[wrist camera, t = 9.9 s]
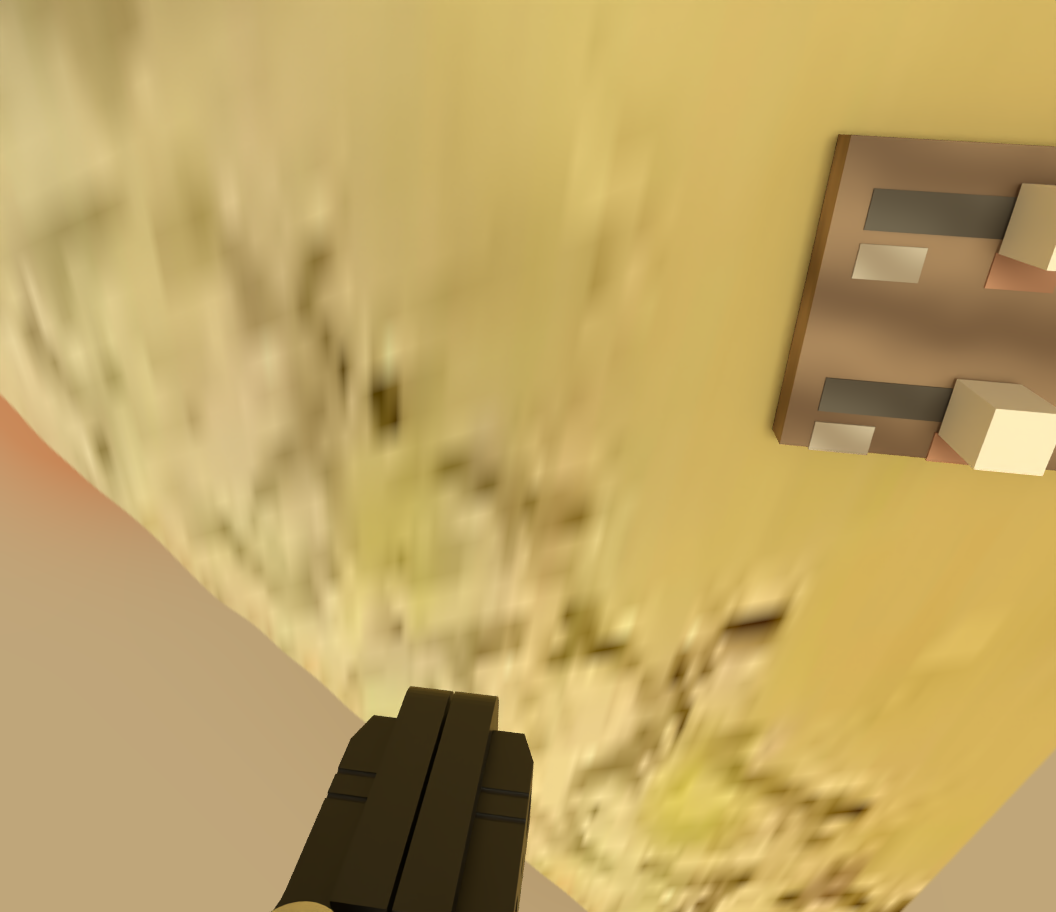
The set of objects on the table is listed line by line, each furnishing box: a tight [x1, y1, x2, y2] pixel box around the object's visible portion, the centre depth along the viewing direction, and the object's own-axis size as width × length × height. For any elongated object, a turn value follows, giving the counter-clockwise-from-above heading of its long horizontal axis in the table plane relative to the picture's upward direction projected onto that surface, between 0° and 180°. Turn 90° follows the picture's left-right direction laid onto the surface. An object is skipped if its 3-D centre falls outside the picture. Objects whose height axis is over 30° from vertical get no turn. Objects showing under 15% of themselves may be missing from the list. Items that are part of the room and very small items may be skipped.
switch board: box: [773, 134, 1056, 471], centre depth 34 cm, size 15×18×2 cm
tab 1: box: [938, 379, 1056, 476], centre depth 33 cm, size 3×3×4 cm
